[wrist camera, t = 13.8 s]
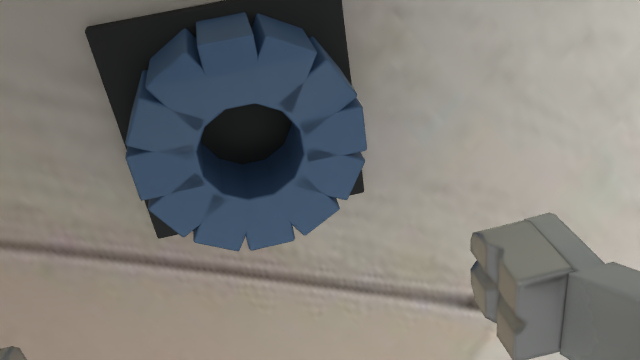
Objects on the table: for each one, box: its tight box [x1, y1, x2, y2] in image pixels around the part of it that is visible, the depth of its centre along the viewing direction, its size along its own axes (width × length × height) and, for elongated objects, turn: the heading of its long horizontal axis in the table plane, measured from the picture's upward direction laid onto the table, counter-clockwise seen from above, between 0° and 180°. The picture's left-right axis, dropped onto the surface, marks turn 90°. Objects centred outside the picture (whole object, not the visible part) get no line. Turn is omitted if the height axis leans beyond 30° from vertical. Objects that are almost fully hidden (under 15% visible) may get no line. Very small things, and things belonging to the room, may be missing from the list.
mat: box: [85, 0, 364, 239], centre depth 18 cm, size 7×7×1 cm
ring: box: [125, 12, 367, 251], centre depth 17 cm, size 6×6×2 cm
